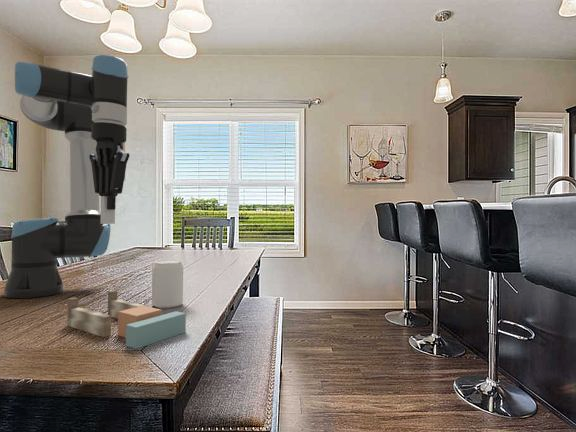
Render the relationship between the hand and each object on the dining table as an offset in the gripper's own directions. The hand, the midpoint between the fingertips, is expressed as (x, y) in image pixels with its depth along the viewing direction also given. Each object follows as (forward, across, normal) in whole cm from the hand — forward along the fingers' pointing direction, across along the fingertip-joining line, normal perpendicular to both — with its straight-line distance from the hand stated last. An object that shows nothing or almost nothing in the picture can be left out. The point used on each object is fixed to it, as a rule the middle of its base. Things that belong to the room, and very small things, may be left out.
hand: (107, 223), depth 88 cm
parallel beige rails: (+22, +6, -3) cm, 23 cm away
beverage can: (+23, +2, +16) cm, 28 cm away
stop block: (+22, +23, -3) cm, 32 cm away
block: (+22, +17, -3) cm, 28 cm away
